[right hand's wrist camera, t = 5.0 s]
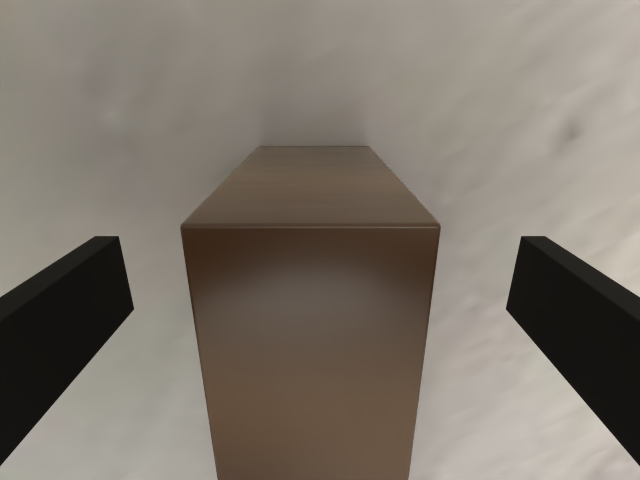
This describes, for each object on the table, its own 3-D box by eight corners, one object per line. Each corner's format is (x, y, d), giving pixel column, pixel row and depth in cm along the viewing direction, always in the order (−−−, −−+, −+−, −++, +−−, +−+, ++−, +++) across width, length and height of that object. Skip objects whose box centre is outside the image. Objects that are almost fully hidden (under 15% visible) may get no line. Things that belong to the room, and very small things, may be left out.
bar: (257, 146, 15) (178, 224, 6) (370, 145, 15) (442, 223, 6) (282, 543, 25) (263, 791, 16) (350, 542, 25) (369, 789, 16)
